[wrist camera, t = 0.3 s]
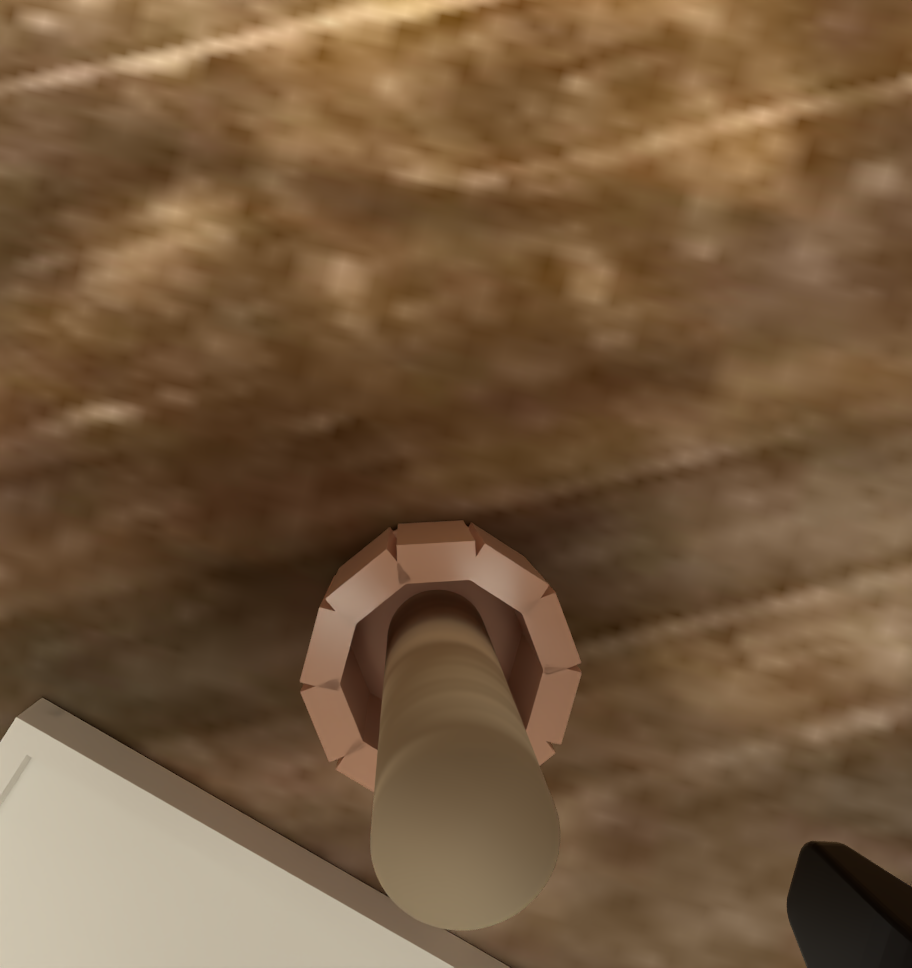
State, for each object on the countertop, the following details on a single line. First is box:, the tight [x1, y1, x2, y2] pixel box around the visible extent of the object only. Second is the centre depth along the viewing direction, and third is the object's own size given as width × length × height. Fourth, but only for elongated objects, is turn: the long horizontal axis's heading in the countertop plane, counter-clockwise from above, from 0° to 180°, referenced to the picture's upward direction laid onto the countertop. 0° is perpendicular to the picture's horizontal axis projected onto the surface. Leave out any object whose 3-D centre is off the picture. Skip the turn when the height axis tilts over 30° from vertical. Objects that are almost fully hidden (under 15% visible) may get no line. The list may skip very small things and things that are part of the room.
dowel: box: [370, 590, 560, 931], centre depth 17 cm, size 3×3×11 cm
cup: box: [300, 520, 582, 792], centre depth 21 cm, size 7×7×4 cm
